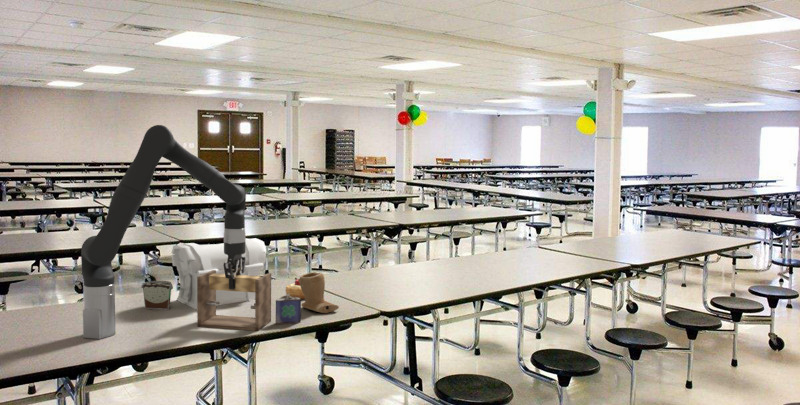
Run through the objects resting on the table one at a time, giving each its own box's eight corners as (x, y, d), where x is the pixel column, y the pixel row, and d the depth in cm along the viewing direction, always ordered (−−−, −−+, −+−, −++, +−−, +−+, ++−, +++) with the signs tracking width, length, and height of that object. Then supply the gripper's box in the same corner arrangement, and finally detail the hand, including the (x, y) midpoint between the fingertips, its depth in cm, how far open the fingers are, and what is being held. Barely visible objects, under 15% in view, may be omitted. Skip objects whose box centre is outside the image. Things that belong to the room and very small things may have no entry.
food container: (178, 305, 243) (178, 281, 242) (171, 309, 237) (171, 284, 236) (149, 304, 244) (149, 279, 243) (141, 308, 238) (141, 283, 237)
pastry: (304, 293, 270) (305, 273, 270) (318, 298, 261) (319, 277, 261) (280, 296, 263) (280, 275, 262) (294, 301, 254) (294, 280, 253)
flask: (275, 324, 220) (276, 295, 220) (274, 322, 223) (275, 293, 222) (301, 322, 223) (301, 294, 222) (300, 320, 226) (300, 292, 225)
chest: (245, 289, 274) (245, 234, 272) (271, 298, 258) (271, 241, 255) (168, 300, 251) (167, 241, 248) (191, 312, 234) (191, 248, 232)
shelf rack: (258, 330, 212) (258, 280, 211) (197, 326, 216) (197, 276, 214) (271, 321, 224) (271, 273, 223) (213, 317, 228) (212, 270, 226)
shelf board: (209, 289, 219) (208, 275, 218) (214, 287, 222) (214, 273, 222) (256, 292, 216) (256, 278, 215) (260, 289, 220) (260, 276, 219)
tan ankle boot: (293, 308, 243) (293, 271, 242) (318, 304, 251) (319, 268, 249) (313, 316, 232) (314, 278, 230) (339, 312, 239) (340, 274, 238)
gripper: (233, 237, 225) (233, 282, 227) (215, 243, 211) (216, 291, 213) (252, 238, 224) (252, 284, 225) (236, 244, 210) (236, 292, 211)
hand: (234, 287), depth 219 cm, fingers closed on shelf board, 4 cm apart
